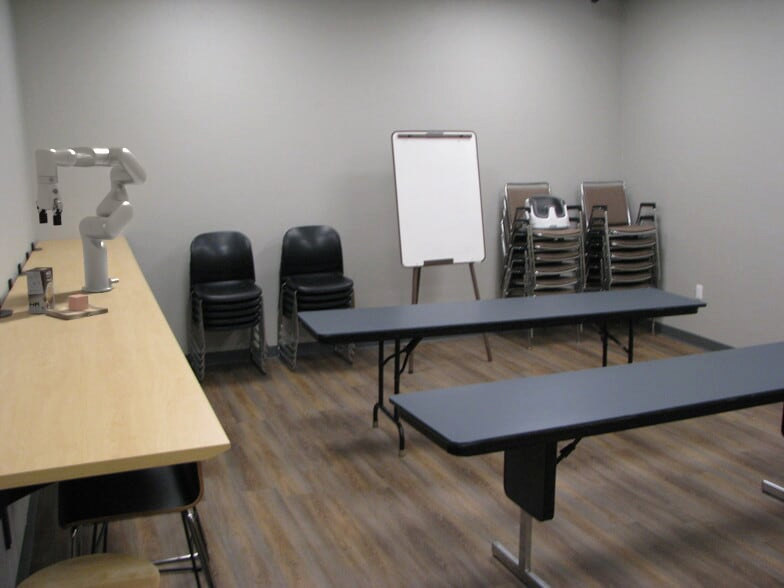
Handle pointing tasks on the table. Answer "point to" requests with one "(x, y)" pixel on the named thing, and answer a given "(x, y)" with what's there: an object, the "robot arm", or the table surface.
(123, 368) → the table surface
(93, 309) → the birch board
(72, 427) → the table surface
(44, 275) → the coffee box
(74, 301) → the coral cube
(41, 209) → the robot arm
